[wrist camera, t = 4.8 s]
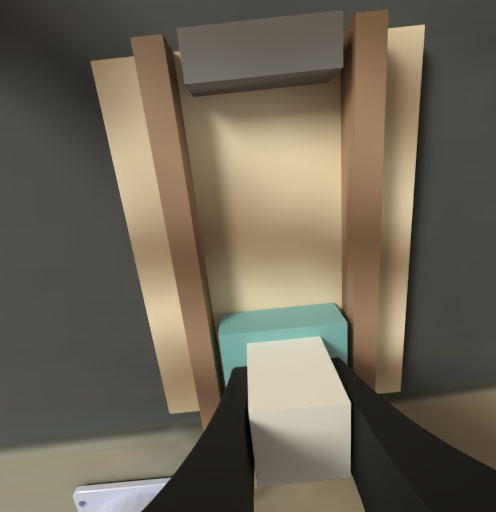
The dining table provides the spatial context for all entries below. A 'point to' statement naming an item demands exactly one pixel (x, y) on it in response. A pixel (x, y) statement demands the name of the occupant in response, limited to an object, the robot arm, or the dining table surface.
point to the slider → (292, 390)
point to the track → (268, 183)
